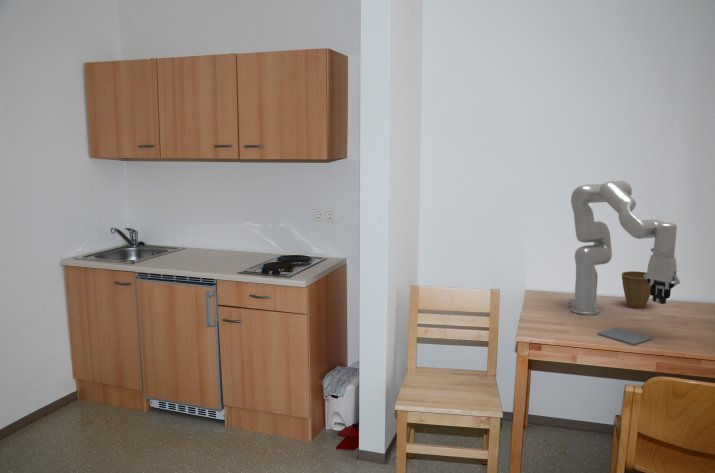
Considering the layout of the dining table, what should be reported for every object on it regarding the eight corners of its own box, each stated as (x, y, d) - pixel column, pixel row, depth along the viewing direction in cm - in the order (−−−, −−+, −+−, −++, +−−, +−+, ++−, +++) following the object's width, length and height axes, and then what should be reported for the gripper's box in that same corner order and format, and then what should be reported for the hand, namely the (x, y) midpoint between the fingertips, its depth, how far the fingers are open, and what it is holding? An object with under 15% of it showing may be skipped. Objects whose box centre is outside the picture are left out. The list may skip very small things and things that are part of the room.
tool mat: (597, 334, 242) (597, 332, 242) (616, 329, 249) (616, 327, 249) (633, 345, 229) (633, 343, 229) (652, 339, 236) (652, 337, 236)
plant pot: (614, 302, 291) (616, 271, 288) (643, 302, 291) (646, 271, 288) (627, 310, 276) (630, 278, 274) (659, 310, 276) (661, 278, 274)
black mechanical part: (646, 300, 240) (648, 277, 238) (654, 299, 242) (656, 275, 241) (661, 305, 234) (663, 281, 232) (669, 303, 237) (671, 279, 235)
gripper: (638, 250, 239) (634, 293, 242) (680, 257, 225) (676, 303, 228) (648, 248, 243) (644, 290, 246) (690, 255, 230) (685, 300, 233)
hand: (659, 296), depth 237 cm, fingers closed on black mechanical part, 4 cm apart
